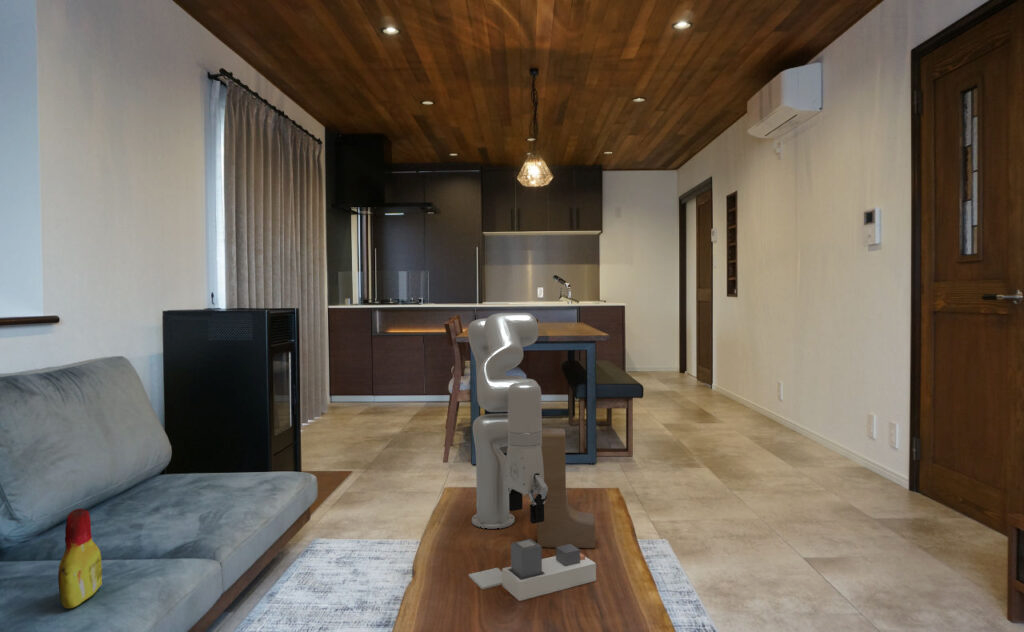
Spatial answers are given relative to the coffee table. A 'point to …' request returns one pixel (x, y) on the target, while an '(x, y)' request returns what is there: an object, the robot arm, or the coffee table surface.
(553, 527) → the decorative block
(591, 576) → the power strip
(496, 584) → the felt pad
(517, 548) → the block
